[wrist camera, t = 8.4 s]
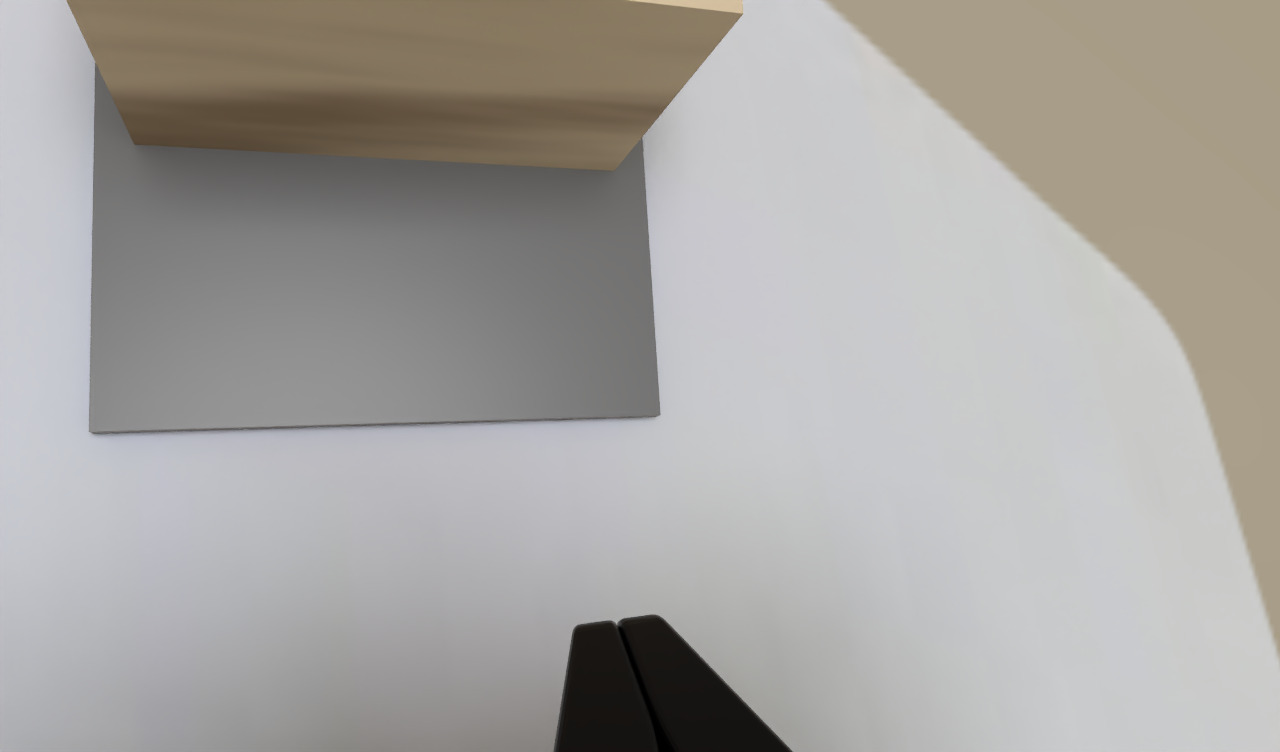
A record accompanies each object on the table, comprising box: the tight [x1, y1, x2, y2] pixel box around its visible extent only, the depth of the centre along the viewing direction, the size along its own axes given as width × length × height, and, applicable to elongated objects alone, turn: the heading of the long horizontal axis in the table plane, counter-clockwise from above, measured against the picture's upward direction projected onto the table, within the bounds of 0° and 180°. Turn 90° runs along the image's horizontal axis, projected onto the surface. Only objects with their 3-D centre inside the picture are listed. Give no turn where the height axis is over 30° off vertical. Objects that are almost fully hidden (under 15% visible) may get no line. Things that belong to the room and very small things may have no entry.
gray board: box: [89, 62, 660, 434], centre depth 23 cm, size 12×13×1 cm
